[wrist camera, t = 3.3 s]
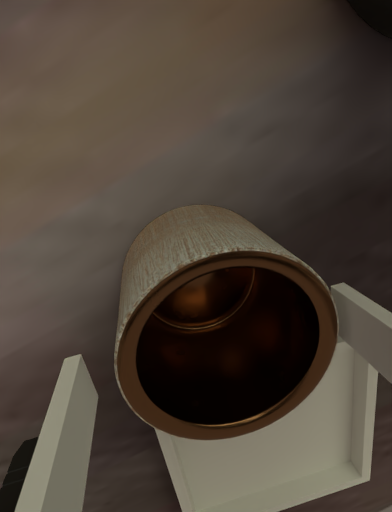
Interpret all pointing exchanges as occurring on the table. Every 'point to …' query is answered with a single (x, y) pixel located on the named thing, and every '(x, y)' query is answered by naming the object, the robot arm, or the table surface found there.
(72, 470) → the robot arm
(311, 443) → the tray
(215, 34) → the table surface
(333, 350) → the planter
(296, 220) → the table surface
